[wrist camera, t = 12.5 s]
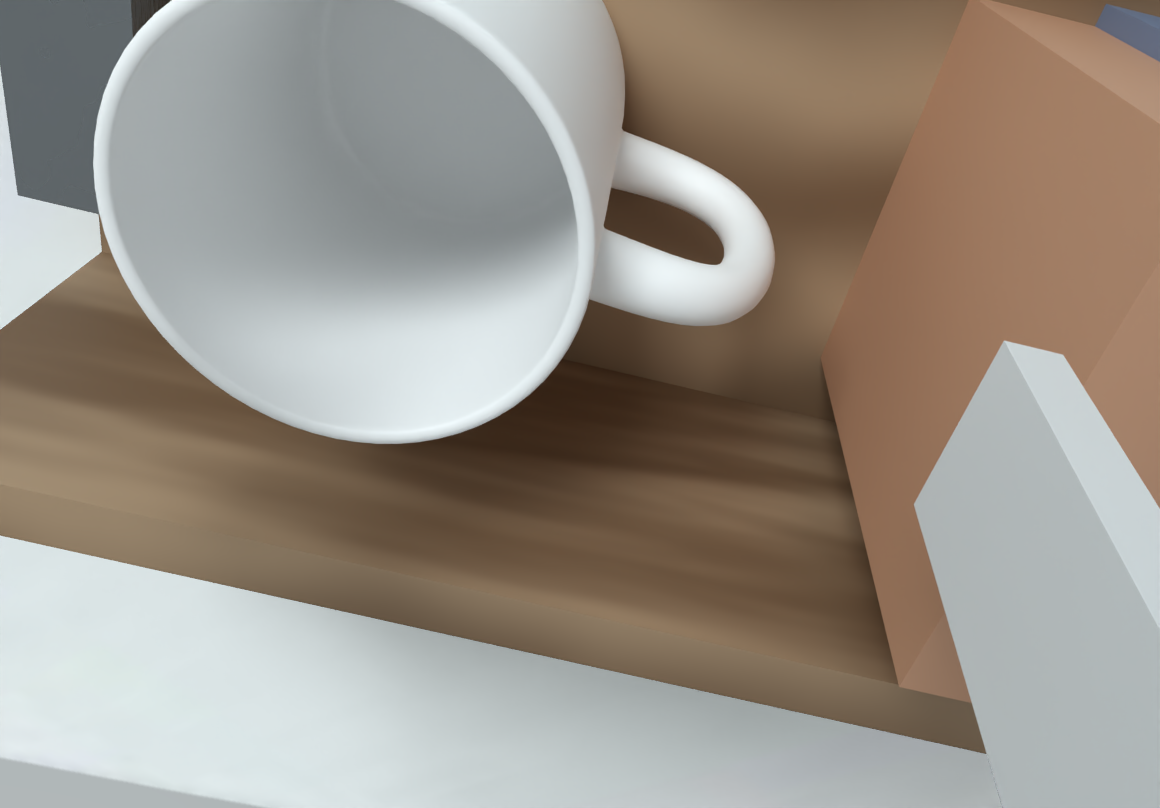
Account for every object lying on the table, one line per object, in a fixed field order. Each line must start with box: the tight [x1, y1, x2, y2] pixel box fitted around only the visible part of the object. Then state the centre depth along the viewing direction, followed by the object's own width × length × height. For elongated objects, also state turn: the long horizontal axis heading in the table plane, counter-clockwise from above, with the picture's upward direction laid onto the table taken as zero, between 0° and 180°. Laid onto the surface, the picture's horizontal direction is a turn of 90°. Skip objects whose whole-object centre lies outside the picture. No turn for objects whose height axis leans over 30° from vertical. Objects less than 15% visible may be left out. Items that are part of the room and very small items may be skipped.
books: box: [821, 0, 1160, 703], centre depth 18 cm, size 11×6×14 cm, turn 168°
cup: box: [93, 0, 775, 444], centre depth 20 cm, size 8×12×10 cm
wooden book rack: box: [0, 0, 1160, 754], centre depth 20 cm, size 17×28×12 cm, turn 78°
